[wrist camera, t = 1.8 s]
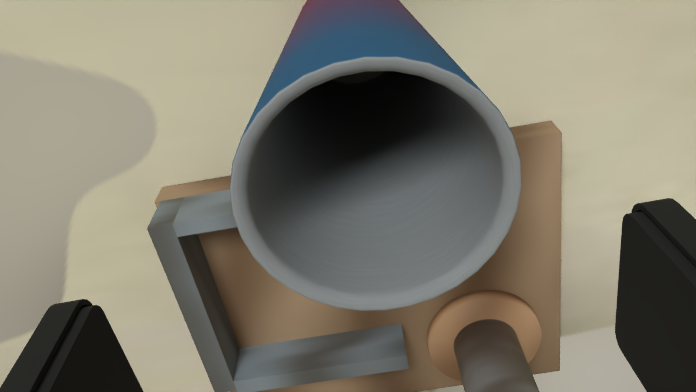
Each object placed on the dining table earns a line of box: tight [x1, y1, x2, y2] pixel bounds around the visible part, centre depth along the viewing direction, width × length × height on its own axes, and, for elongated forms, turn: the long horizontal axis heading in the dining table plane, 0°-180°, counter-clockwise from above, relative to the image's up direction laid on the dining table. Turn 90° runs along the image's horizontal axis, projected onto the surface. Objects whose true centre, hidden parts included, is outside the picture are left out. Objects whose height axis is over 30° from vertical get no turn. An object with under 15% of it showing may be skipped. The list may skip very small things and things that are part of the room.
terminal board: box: [147, 121, 562, 392], centre depth 29 cm, size 20×16×12 cm
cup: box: [230, 0, 522, 311], centre depth 20 cm, size 7×7×15 cm
